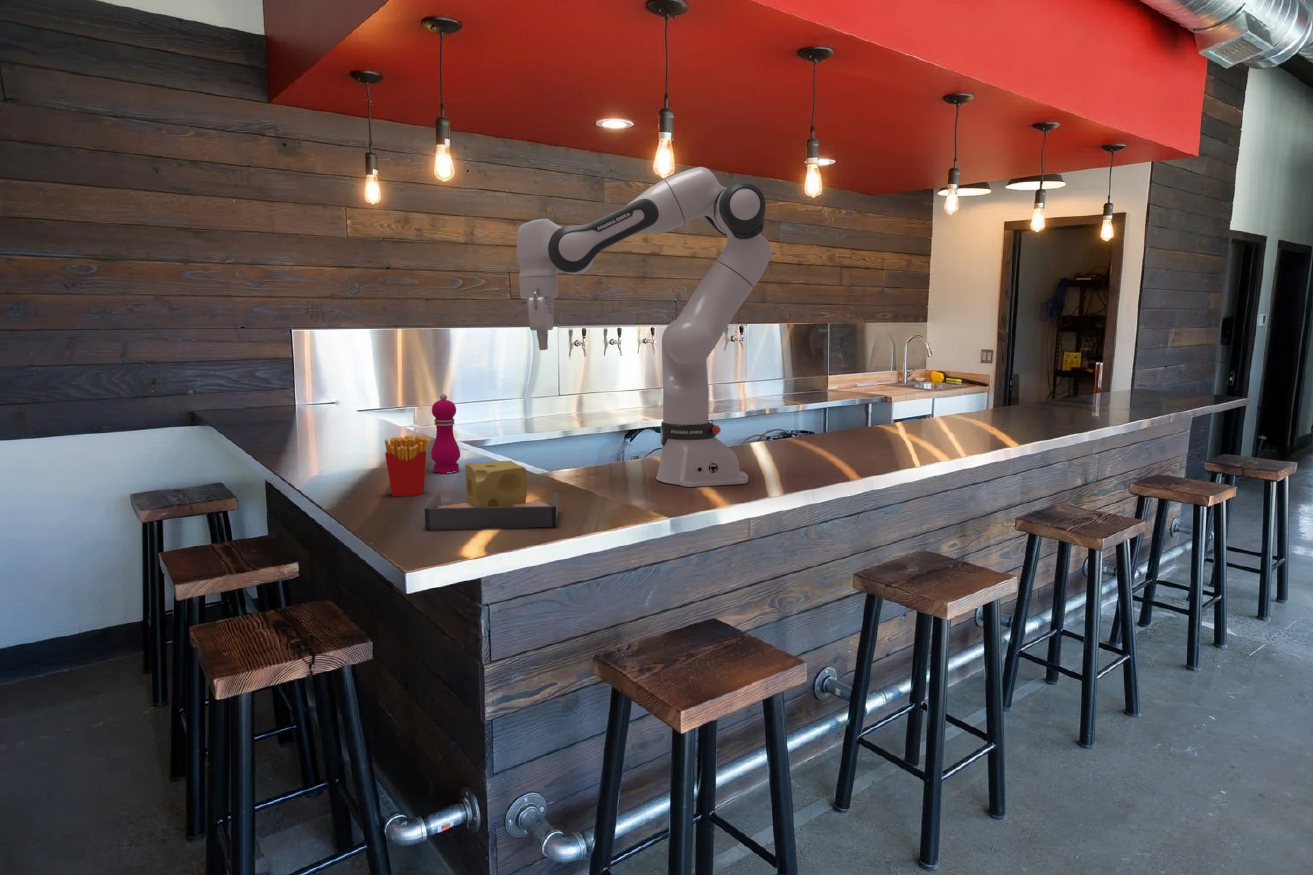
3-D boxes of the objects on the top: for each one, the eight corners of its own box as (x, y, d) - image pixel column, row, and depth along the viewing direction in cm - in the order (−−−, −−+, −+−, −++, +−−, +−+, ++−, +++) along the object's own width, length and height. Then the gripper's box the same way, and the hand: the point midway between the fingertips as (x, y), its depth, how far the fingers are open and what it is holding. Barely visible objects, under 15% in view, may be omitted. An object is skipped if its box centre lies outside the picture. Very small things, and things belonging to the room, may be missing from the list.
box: (558, 511, 163) (558, 492, 162) (556, 527, 151) (555, 506, 151) (437, 513, 161) (436, 494, 160) (425, 529, 149) (424, 509, 148)
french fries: (387, 497, 175) (384, 439, 173) (386, 493, 179) (383, 436, 177) (430, 494, 178) (428, 436, 176) (428, 490, 182) (426, 434, 180)
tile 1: (477, 523, 155) (477, 508, 154) (447, 528, 151) (447, 513, 151) (466, 517, 160) (466, 502, 159) (437, 521, 156) (436, 506, 156)
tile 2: (539, 515, 162) (539, 500, 161) (552, 521, 157) (552, 506, 156) (512, 519, 158) (511, 504, 158) (524, 525, 153) (524, 510, 153)
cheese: (476, 521, 155) (474, 471, 154) (464, 509, 165) (463, 462, 164) (528, 516, 160) (527, 467, 158) (514, 504, 169) (512, 458, 168)
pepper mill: (453, 474, 200) (450, 395, 196) (426, 473, 201) (423, 394, 198) (465, 469, 206) (462, 392, 203) (439, 468, 208) (436, 392, 205)
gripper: (548, 287, 175) (553, 350, 177) (556, 292, 196) (560, 348, 197) (519, 288, 175) (524, 351, 177) (530, 293, 195) (534, 349, 197)
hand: (543, 350), depth 187 cm, fingers closed
